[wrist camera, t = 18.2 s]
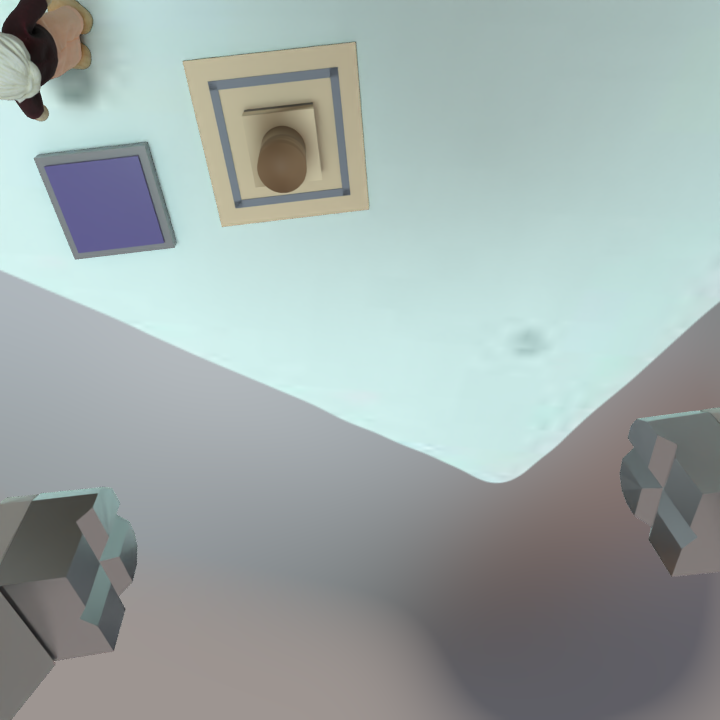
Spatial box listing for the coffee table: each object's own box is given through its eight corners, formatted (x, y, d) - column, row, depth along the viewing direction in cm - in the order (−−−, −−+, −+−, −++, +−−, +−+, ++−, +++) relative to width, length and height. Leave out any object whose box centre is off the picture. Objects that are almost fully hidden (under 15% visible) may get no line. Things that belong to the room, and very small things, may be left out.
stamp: (312, 102, 42) (315, 124, 36) (321, 171, 44) (324, 201, 39) (244, 109, 41) (235, 133, 36) (257, 178, 44) (251, 210, 39)
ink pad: (147, 142, 42) (143, 146, 41) (176, 242, 47) (173, 249, 46) (38, 154, 42) (32, 159, 41) (78, 254, 47) (73, 261, 46)
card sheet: (355, 41, 40) (355, 42, 40) (368, 208, 47) (369, 209, 46) (183, 60, 40) (182, 61, 39) (222, 225, 46) (221, 227, 46)
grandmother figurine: (28, -32, 36) (-81, -31, 26) (93, -21, 37) (11, -15, 26) (47, 99, 40) (-40, 146, 30) (105, 107, 41) (39, 155, 30)
